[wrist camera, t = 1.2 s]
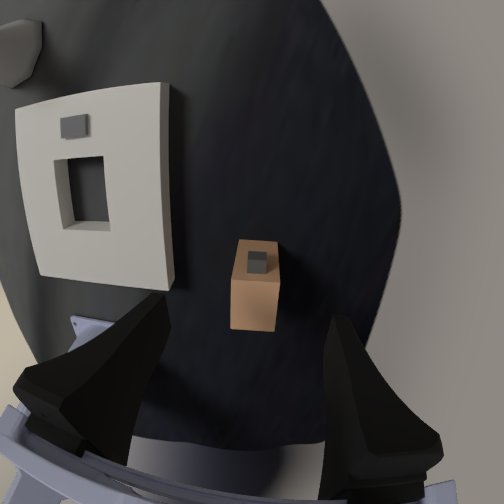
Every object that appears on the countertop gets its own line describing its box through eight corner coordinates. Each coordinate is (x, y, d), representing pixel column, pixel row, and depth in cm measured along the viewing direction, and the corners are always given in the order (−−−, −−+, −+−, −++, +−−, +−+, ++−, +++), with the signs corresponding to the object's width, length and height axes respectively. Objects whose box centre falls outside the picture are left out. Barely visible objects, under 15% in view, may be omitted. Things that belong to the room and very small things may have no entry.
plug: (273, 284, 26) (274, 331, 21) (237, 282, 26) (230, 328, 21) (278, 230, 24) (281, 268, 18) (239, 227, 24) (231, 265, 18)
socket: (174, 278, 26) (167, 293, 24) (50, 265, 26) (38, 277, 24) (169, 84, 19) (158, 81, 17) (29, 107, 19) (12, 109, 17)
